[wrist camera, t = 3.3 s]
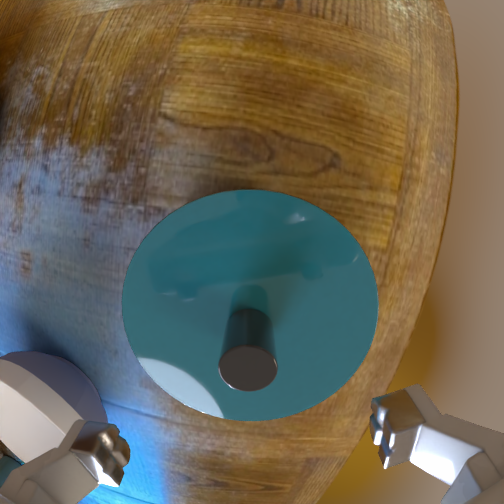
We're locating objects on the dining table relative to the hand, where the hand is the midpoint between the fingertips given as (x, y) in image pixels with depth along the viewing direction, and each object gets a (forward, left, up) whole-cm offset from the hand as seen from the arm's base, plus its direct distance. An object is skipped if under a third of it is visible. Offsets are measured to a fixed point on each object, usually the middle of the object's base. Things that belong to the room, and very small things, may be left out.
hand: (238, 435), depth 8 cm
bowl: (+23, +10, -15) cm, 29 cm away
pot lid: (0, 0, -8) cm, 8 cm away
